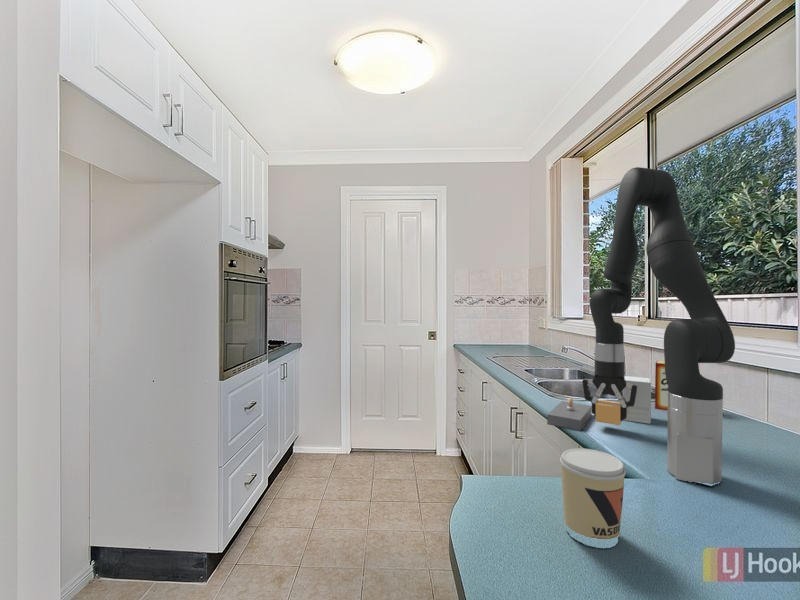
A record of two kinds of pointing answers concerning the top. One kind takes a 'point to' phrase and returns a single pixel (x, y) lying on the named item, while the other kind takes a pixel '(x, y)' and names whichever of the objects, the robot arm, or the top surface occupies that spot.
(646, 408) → the supplement box
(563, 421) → the board
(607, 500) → the coffee cup
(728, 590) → the top surface
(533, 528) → the top surface
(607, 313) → the robot arm
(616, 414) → the orange kitchen sponge
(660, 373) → the baking soda box
